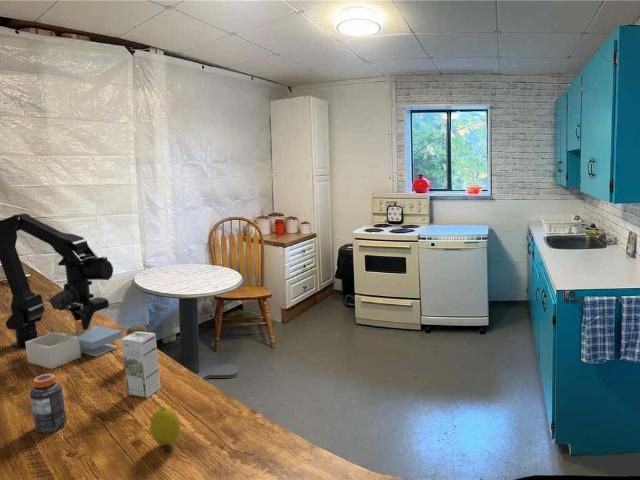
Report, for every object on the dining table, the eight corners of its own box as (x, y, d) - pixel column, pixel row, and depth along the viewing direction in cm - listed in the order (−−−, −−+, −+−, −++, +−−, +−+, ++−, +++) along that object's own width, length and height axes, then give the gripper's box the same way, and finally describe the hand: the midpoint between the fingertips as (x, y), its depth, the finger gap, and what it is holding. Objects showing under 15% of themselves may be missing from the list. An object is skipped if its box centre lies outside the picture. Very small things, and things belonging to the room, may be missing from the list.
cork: (144, 369, 133) (140, 330, 131) (123, 368, 134) (119, 330, 132) (155, 360, 139) (152, 323, 137) (136, 359, 140) (132, 322, 138)
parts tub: (27, 362, 141) (25, 342, 140) (57, 350, 149) (55, 331, 148) (51, 368, 136) (48, 348, 135) (81, 356, 143) (78, 337, 142)
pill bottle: (59, 416, 110) (53, 368, 108) (71, 424, 106) (65, 375, 104) (30, 428, 106) (23, 378, 104) (42, 437, 102) (35, 386, 100)
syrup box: (161, 387, 122) (156, 331, 120) (146, 399, 117) (140, 340, 114) (142, 385, 124) (137, 329, 121) (126, 396, 118) (120, 338, 116)
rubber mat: (72, 350, 148) (71, 349, 148) (94, 341, 155) (93, 340, 155) (96, 356, 143) (96, 355, 143) (117, 347, 150) (117, 346, 150)
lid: (65, 342, 147) (63, 324, 146) (95, 331, 156) (93, 314, 155) (92, 349, 141) (90, 330, 140) (122, 337, 150) (120, 319, 149)
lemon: (156, 438, 100) (152, 401, 99) (183, 435, 101) (180, 399, 99) (149, 454, 95) (145, 415, 93) (178, 451, 95) (175, 413, 94)
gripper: (32, 282, 145) (39, 333, 148) (72, 289, 136) (79, 342, 139) (67, 274, 155) (73, 321, 158) (107, 279, 146) (112, 330, 149)
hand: (83, 329), depth 150 cm, fingers closed on lid
